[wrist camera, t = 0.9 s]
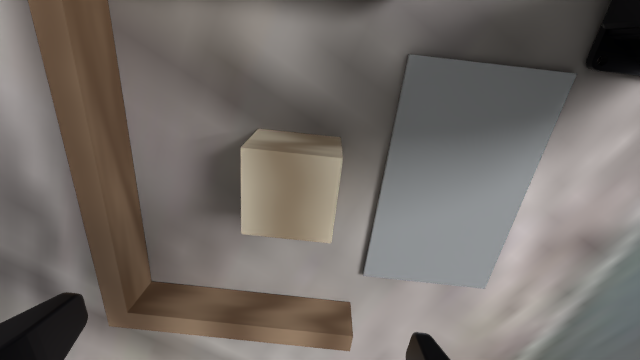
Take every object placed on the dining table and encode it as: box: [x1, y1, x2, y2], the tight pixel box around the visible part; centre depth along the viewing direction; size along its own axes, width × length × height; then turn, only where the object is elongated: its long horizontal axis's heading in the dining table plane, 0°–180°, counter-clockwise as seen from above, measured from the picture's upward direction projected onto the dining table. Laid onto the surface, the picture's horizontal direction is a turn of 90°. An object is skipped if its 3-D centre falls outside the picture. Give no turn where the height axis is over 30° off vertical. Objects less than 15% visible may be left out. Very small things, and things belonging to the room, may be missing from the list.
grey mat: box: [363, 54, 577, 289], centre depth 19 cm, size 9×15×1 cm, turn 174°
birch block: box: [241, 129, 343, 243], centre depth 17 cm, size 5×5×4 cm
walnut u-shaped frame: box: [28, 0, 353, 351], centre depth 17 cm, size 17×24×3 cm
